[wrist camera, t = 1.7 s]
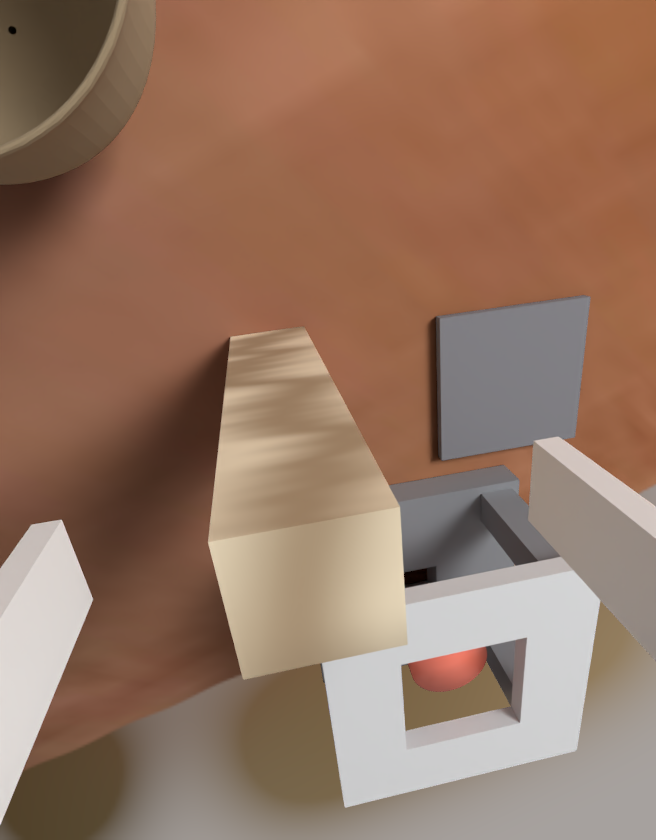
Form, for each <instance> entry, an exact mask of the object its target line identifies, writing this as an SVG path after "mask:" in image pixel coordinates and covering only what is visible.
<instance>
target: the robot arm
mask: <svg viewBox="0 0 656 840" xmlns="http://www.w3.org/2000/svg"><path fill="white" fill-rule="evenodd" d="M528 521H529V522H530V523H531V524H532V525H533V526H534V527H535V528H536V529H537V531H538V532H539V533H540V534H541V535H542V536H543V537H544V538H545V539H546V541H547V542H548V543H549V544H550V545H551V546H552V547H553V548H554V549H555V550H556V552H557V553H558V554H559V555H560V556H561V557H562V558H563V559H564V560H565V562H566V563H567V564H568V565H569V566H570V567H571V568H572V569H573V570H574V571H575V573H576V574H577V575H578V576H579V577H580V578H581V579H582V580H583V581H584V583H585V584H586V585H587V586H588V587H589V588H590V589H591V590H592V591H593V593H594V594H595V595H596V596H597V597H598V598H599V599H600V600H601V601H602V602H603V603H604V605H605V606H606V607H607V608H608V609H609V610H610V611H611V612H612V614H614V616H615V617H616V618H617V619H618V620H619V621H620V622H621V623H622V624H623V625H624V627H625V628H626V629H627V630H628V631H629V632H630V633H631V634H632V636H633V637H634V638H635V639H636V640H637V641H638V642H639V643H640V644H641V645H642V647H643V648H644V649H645V650H646V651H647V652H648V653H649V654H650V655H651V657H652V658H653V659H654V660H655V661H656V506H654V505H653V504H651V503H650V502H649V501H647V500H646V499H644V498H643V497H642V496H640V495H639V494H638V493H636V492H635V491H633V490H632V489H631V488H629V487H628V486H627V485H625V484H624V483H622V482H621V481H620V480H618V479H617V478H615V477H614V476H613V475H611V474H610V473H609V472H607V471H606V470H604V469H603V468H602V467H600V466H599V465H597V464H596V463H595V462H593V461H592V460H591V459H589V458H588V457H586V456H585V455H584V454H582V453H581V452H580V451H578V450H577V449H575V448H574V447H573V446H571V445H570V444H568V443H567V442H566V441H564V440H563V439H562V438H560V437H553V438H547V439H541V440H535V441H534V442H533V456H532V471H531V485H530V499H529V514H528ZM92 601H93V598H92V595H91V593H90V590H89V588H88V585H87V583H86V580H85V577H84V575H83V572H82V570H81V567H80V565H79V562H78V560H77V557H76V555H75V552H74V549H73V547H72V544H71V542H70V539H69V537H68V534H67V532H66V529H65V527H64V524H63V522H62V520H56V521H50V522H44V523H38V524H32V525H31V526H30V528H29V529H28V530H27V532H26V533H25V535H24V536H23V537H22V539H21V540H20V542H19V543H18V544H17V546H16V547H15V549H14V550H13V551H12V553H11V554H10V556H9V557H8V558H7V560H6V561H5V563H4V564H3V565H2V567H1V568H0V824H1V822H2V819H3V817H4V814H5V812H6V809H7V807H8V805H9V802H10V800H11V797H12V795H13V793H14V790H15V787H16V785H17V782H18V780H19V778H20V776H21V773H22V771H23V768H24V766H25V763H26V761H27V759H28V756H29V754H30V751H31V749H32V747H33V744H34V742H35V739H36V737H37V734H38V732H39V730H40V727H41V725H42V722H43V720H44V717H45V715H46V713H47V710H48V708H49V705H50V703H51V700H52V698H53V696H54V693H55V691H56V688H57V686H58V683H59V681H60V679H61V676H62V674H63V671H64V669H65V666H66V664H67V662H68V659H69V657H70V654H71V652H72V650H73V647H74V645H75V642H76V640H77V637H78V635H79V633H80V630H81V628H82V625H83V623H84V620H85V618H86V616H87V613H88V611H89V608H90V606H91V603H92Z"/></svg>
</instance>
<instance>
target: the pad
mask: <svg viewBox="0 0 656 840" xmlns="http://www.w3.org/2000/svg"><path fill="white" fill-rule="evenodd" d="M589 305H590V297H589V296H585V295H582V296H575V297H568V298H561V299H554V300H547V301H540V302H533V303H526V304H519V305H513V306H506V307H499V308H492V309H485V310H478V311H471V312H464V313H457V314H450V315H443V316H436V348H437V408H438V457H439V458H440V459H441V460H442V461H443V460H449V459H454V458H460V457H466V456H471V455H477V454H483V453H488V452H494V451H500V450H505V449H511V448H517V447H523V446H528V445H533V442H534V441H535V440H541V439H547V438H553V437H560V438H562V439H568V438H574V437H575V432H576V423H577V414H578V405H579V396H580V387H581V378H582V368H583V359H584V350H585V341H586V332H587V323H588V314H589Z"/></svg>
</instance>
